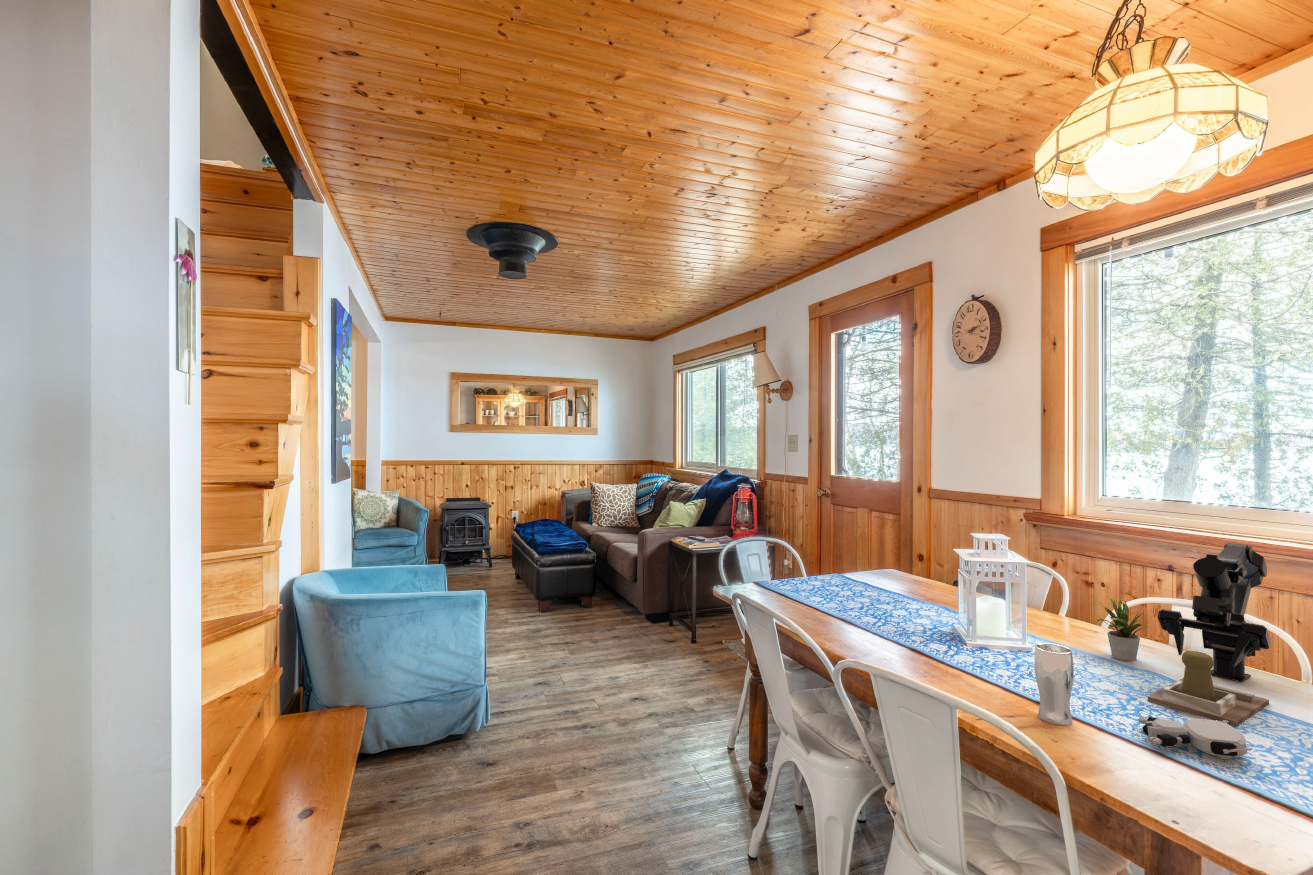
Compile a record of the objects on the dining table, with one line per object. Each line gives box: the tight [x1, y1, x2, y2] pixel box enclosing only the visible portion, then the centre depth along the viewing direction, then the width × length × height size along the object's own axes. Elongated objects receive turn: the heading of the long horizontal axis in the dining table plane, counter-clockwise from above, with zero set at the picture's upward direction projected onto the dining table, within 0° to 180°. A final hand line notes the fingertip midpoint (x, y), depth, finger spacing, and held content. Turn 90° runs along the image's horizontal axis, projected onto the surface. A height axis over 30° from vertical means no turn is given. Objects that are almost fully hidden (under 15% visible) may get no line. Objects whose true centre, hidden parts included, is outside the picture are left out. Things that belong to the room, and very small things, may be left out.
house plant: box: [1089, 596, 1154, 662], centre depth 164 cm, size 14×14×16 cm
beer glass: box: [1034, 642, 1075, 726], centre depth 128 cm, size 7×7×15 cm
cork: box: [1181, 650, 1216, 702], centre depth 132 cm, size 6×6×11 cm
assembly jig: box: [1147, 677, 1270, 727], centre depth 134 cm, size 20×15×4 cm
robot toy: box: [1137, 716, 1253, 760], centre depth 115 cm, size 12×4×15 cm
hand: (1205, 659), depth 136 cm, fingers open, 9 cm apart
